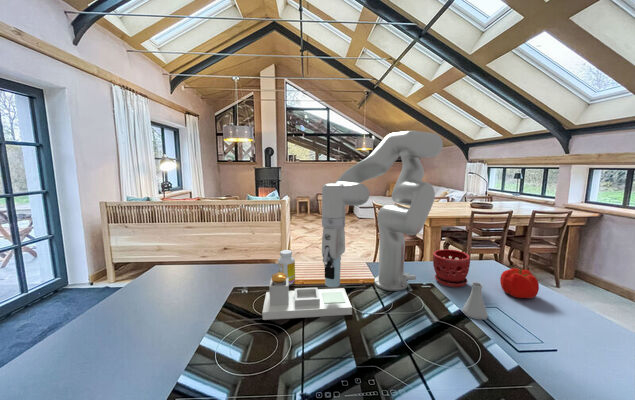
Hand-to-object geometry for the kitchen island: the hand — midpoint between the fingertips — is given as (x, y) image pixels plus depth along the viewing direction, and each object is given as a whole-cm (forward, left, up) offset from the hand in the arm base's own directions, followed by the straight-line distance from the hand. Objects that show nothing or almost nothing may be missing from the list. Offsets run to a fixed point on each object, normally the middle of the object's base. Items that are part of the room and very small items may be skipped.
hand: (332, 274), depth 89 cm
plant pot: (-49, -12, -11) cm, 52 cm away
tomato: (-68, 0, -11) cm, 69 cm away
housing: (+9, 0, -11) cm, 14 cm away
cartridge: (0, 0, -3) cm, 3 cm away
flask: (-44, +10, -11) cm, 47 cm away
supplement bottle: (+16, -19, -11) cm, 27 cm away
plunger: (+18, 0, -8) cm, 19 cm away
